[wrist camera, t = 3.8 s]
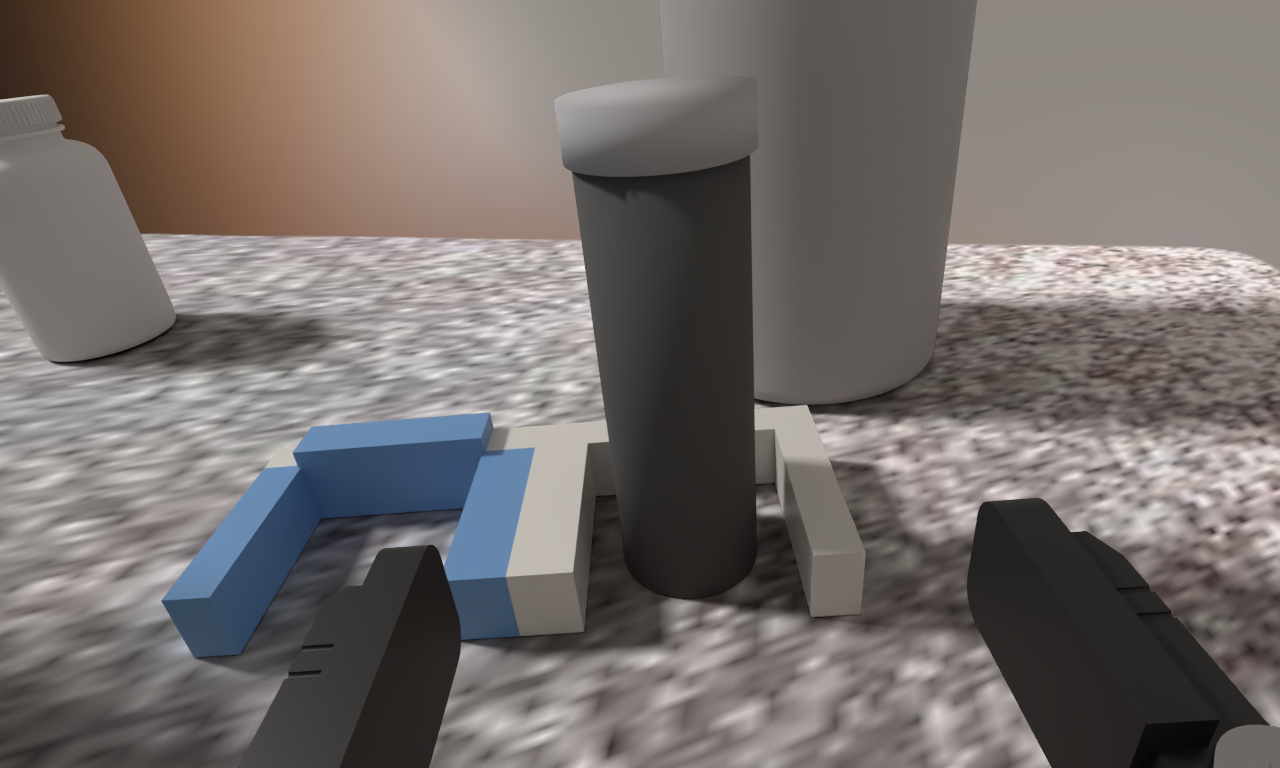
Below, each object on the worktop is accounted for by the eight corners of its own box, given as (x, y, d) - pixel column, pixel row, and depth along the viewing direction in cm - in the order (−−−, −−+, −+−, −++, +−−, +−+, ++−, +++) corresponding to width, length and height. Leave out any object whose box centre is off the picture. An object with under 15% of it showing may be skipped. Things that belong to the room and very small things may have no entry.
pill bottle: (142, 307, 53) (41, 91, 45) (202, 323, 49) (102, 88, 42) (19, 353, 47) (-119, 114, 40) (76, 375, 43) (-66, 113, 36)
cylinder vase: (975, 334, 37) (1073, -316, 25) (851, 444, 29) (905, -408, 17) (773, 287, 45) (772, -222, 33) (635, 364, 37) (568, -257, 25)
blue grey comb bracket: (860, 613, 22) (867, 533, 20) (194, 657, 23) (151, 583, 21) (805, 455, 29) (806, 387, 27) (303, 493, 30) (277, 429, 28)
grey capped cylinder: (697, 628, 22) (658, 112, 15) (589, 555, 25) (513, 104, 18) (791, 541, 25) (798, 75, 17) (684, 486, 28) (652, 74, 21)
